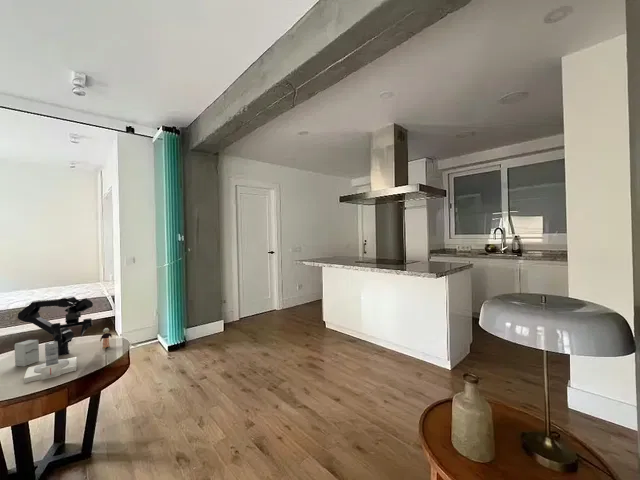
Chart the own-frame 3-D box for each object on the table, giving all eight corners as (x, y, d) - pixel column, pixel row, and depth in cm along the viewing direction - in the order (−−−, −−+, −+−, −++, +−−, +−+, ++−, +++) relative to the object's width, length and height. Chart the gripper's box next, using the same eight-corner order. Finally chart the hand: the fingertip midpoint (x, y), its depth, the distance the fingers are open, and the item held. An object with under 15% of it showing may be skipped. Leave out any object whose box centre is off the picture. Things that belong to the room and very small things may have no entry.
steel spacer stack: (50, 363, 158) (49, 341, 157) (60, 362, 158) (60, 340, 158) (43, 367, 153) (42, 345, 152) (53, 366, 153) (53, 344, 153)
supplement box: (24, 366, 162) (23, 344, 162) (14, 365, 163) (13, 343, 163) (39, 361, 169) (39, 339, 169) (30, 360, 170) (29, 339, 170)
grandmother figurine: (103, 349, 184) (103, 330, 184) (98, 349, 185) (98, 329, 185) (114, 345, 192) (113, 326, 192) (109, 344, 192) (108, 326, 192)
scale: (28, 371, 155) (27, 361, 155) (76, 360, 168) (76, 350, 168) (23, 384, 141) (22, 372, 141) (76, 371, 154) (75, 360, 154)
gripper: (50, 310, 167) (46, 334, 158) (91, 305, 178) (89, 327, 169) (54, 320, 174) (50, 343, 165) (93, 315, 184) (91, 336, 175)
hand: (71, 337), depth 168 cm, fingers open, 9 cm apart
